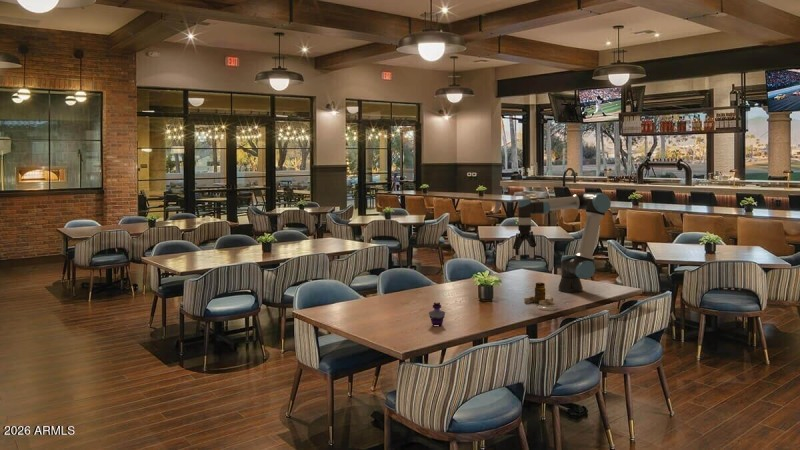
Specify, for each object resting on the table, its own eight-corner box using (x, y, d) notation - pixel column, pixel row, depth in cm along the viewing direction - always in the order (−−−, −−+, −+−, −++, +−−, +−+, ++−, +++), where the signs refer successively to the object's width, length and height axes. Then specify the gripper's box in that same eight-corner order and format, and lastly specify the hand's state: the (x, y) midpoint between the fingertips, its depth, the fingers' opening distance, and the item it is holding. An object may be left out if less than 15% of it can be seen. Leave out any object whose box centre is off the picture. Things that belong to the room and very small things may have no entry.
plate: (545, 305, 371) (545, 303, 370) (561, 308, 362) (561, 306, 362) (533, 308, 363) (533, 306, 363) (549, 311, 355) (549, 310, 355)
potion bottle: (444, 322, 335) (444, 300, 334) (446, 327, 326) (446, 304, 325) (428, 323, 334) (427, 301, 333) (429, 327, 326) (429, 304, 325)
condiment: (548, 303, 376) (548, 283, 374) (538, 305, 371) (538, 285, 370) (539, 301, 382) (539, 281, 381) (529, 303, 377) (529, 283, 376)
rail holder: (536, 300, 385) (536, 295, 384) (553, 303, 376) (553, 298, 375) (524, 303, 377) (524, 298, 377) (540, 306, 368) (540, 301, 368)
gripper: (531, 222, 395) (532, 256, 397) (506, 225, 379) (507, 260, 381) (542, 223, 390) (542, 257, 392) (516, 226, 373) (517, 262, 375)
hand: (524, 259), depth 386 cm, fingers open, 13 cm apart
